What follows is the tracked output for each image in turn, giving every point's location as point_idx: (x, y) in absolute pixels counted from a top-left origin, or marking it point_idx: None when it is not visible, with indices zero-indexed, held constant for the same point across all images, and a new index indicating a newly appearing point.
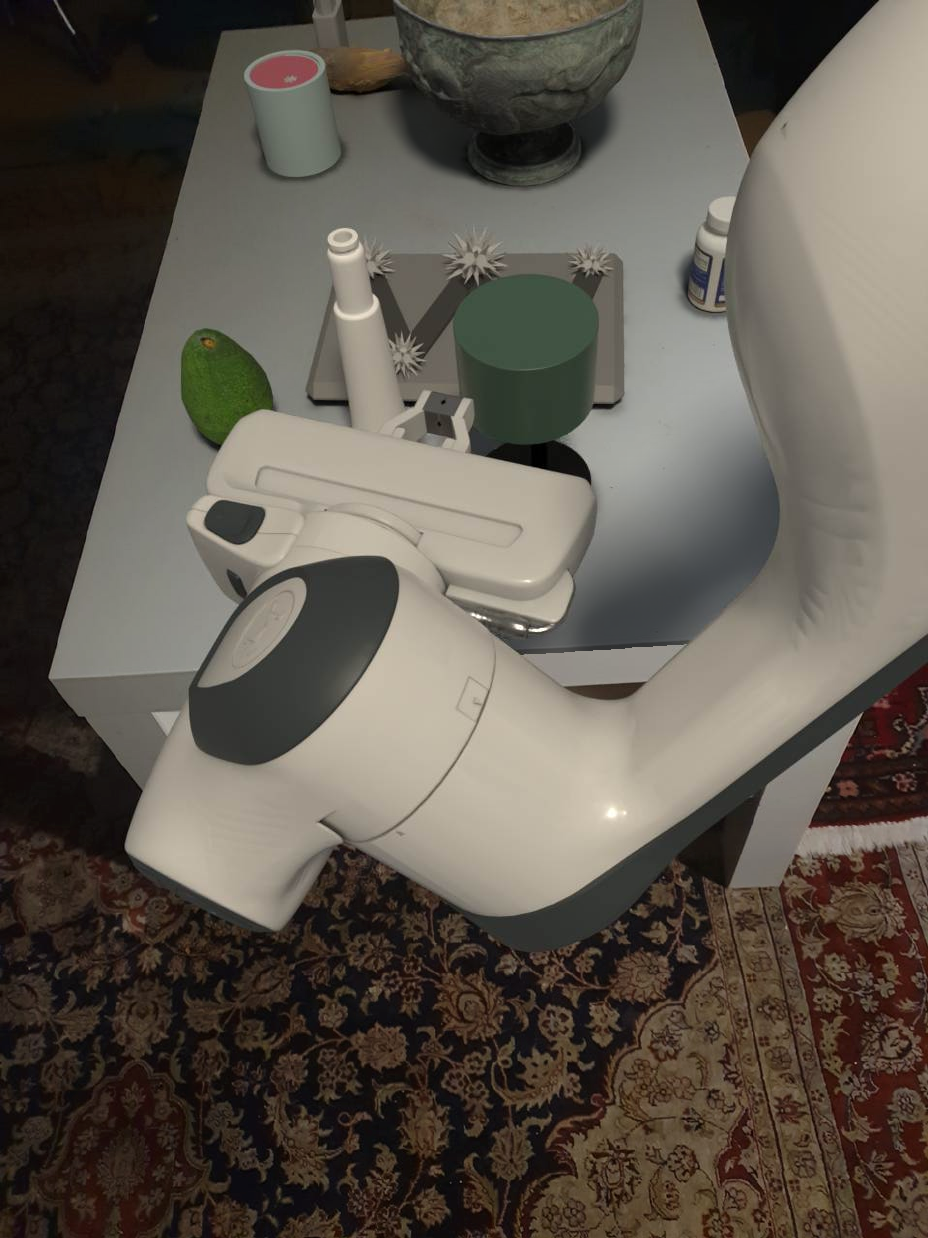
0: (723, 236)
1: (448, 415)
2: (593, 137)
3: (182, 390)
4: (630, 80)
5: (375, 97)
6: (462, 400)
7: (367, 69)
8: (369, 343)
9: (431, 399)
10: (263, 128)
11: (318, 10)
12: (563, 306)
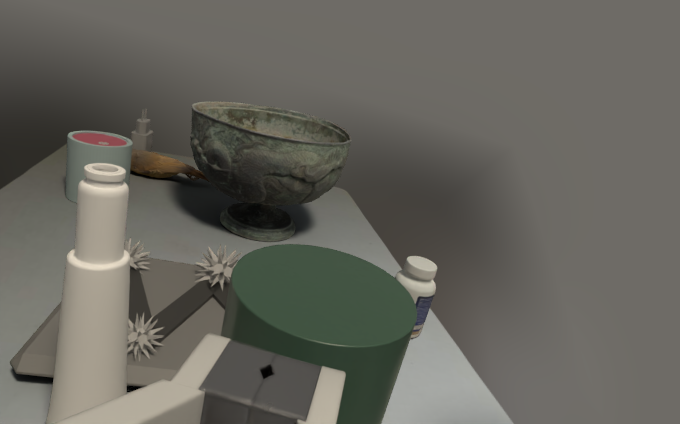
0: (418, 281)
1: (287, 417)
2: (301, 226)
3: None
4: (319, 207)
5: (160, 181)
6: (322, 373)
7: (160, 164)
8: (102, 303)
9: (231, 360)
10: (70, 168)
11: (136, 130)
12: (367, 280)
